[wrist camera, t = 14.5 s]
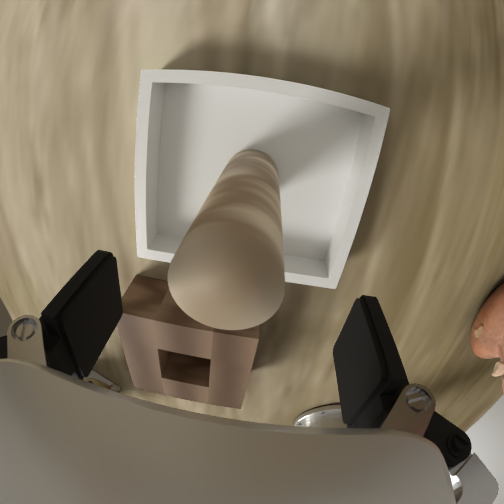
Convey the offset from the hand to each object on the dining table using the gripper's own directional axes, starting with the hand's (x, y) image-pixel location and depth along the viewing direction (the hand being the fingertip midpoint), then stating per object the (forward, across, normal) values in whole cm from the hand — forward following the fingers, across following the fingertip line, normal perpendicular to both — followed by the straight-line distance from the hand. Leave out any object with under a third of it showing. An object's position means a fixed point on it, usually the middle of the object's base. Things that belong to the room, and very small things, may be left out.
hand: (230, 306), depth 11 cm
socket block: (+16, +4, +19) cm, 25 cm away
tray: (+16, 0, -1) cm, 16 cm away
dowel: (+15, 0, -1) cm, 15 cm away
